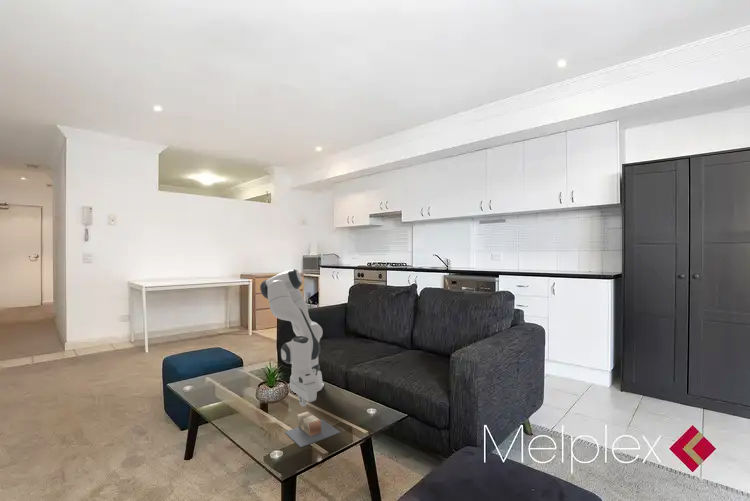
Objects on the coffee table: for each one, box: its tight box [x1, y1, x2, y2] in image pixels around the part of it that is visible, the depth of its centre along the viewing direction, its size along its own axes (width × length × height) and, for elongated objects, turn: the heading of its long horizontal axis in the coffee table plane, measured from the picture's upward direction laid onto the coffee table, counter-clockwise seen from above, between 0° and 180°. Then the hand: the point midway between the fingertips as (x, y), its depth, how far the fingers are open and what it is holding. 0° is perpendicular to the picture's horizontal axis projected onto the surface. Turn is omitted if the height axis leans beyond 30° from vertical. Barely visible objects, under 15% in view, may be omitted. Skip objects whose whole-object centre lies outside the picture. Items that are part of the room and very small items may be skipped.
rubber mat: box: [284, 418, 341, 448], centre depth 155 cm, size 16×18×1 cm
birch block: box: [297, 411, 321, 436], centre depth 158 cm, size 5×5×12 cm
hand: (303, 405), depth 161 cm, fingers closed
